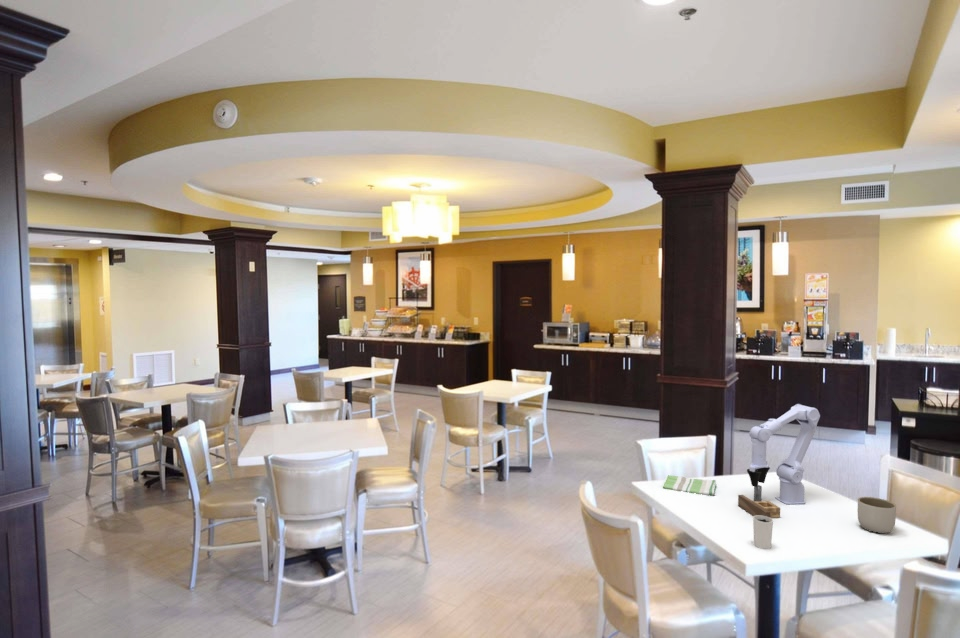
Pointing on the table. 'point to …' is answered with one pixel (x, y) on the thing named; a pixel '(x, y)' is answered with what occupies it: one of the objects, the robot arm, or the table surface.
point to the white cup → (762, 531)
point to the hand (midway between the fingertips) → (758, 484)
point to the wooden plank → (751, 506)
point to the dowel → (757, 493)
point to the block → (770, 508)
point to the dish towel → (691, 485)
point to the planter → (876, 514)
